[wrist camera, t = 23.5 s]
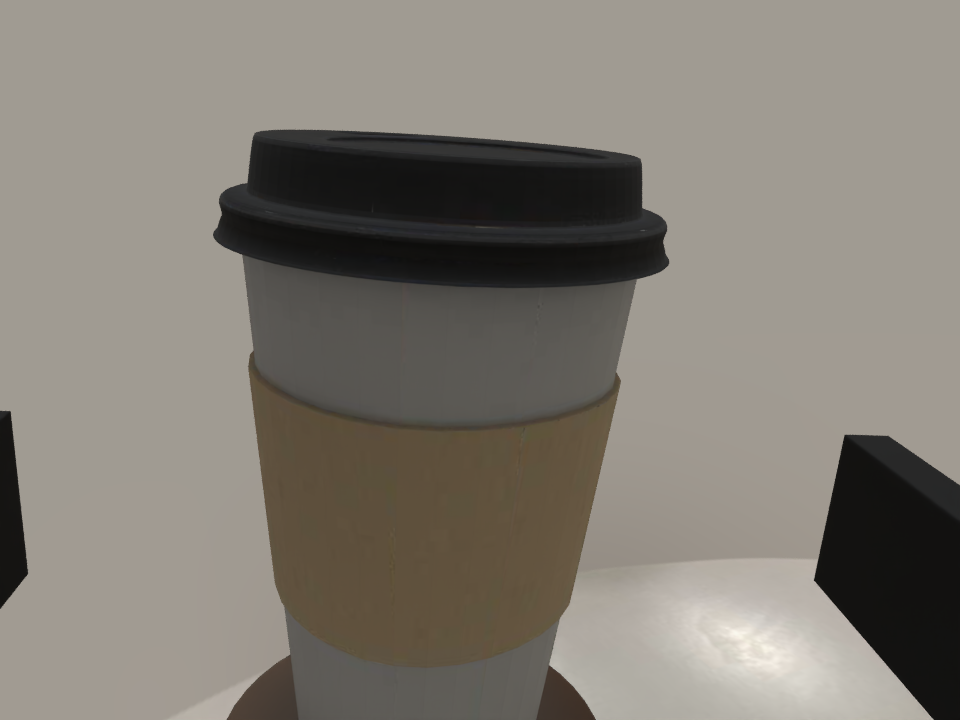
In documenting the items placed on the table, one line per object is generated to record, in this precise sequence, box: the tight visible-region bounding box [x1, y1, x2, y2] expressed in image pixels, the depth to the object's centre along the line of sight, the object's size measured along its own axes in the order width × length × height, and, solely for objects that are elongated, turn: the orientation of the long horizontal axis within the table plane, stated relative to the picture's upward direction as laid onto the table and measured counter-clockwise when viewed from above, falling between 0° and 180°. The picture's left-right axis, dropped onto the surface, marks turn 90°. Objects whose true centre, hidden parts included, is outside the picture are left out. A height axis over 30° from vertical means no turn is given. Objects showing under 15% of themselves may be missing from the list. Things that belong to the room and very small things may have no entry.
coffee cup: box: [213, 130, 669, 720], centre depth 19 cm, size 9×9×15 cm
